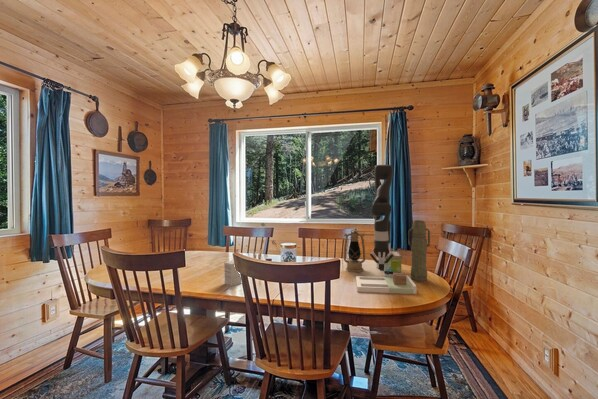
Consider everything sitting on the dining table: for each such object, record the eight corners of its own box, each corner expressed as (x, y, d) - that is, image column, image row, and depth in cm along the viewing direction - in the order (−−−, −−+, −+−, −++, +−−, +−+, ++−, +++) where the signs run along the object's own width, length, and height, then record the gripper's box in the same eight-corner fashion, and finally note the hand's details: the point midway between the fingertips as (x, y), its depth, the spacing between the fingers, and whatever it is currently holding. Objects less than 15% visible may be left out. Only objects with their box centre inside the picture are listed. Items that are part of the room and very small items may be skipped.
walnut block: (393, 281, 164) (393, 272, 164) (404, 282, 163) (404, 272, 163) (394, 284, 158) (394, 275, 158) (406, 285, 157) (406, 275, 157)
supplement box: (235, 281, 176) (235, 259, 175) (242, 283, 170) (242, 261, 170) (224, 283, 170) (223, 261, 170) (231, 286, 165) (230, 263, 165)
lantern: (344, 271, 195) (344, 226, 194) (343, 267, 207) (342, 224, 206) (366, 272, 194) (366, 226, 193) (364, 267, 206) (364, 224, 205)
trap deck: (355, 280, 175) (355, 273, 174) (408, 282, 170) (408, 275, 170) (357, 291, 155) (357, 283, 155) (416, 294, 150) (416, 286, 150)
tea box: (401, 280, 174) (401, 255, 173) (384, 279, 176) (384, 255, 175) (398, 274, 188) (398, 250, 188) (382, 273, 190) (382, 250, 190)
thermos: (406, 277, 181) (406, 220, 180) (427, 277, 179) (427, 220, 179) (410, 281, 172) (410, 221, 172) (431, 282, 170) (431, 221, 170)
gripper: (392, 238, 165) (392, 269, 165) (368, 237, 167) (368, 268, 167) (395, 240, 157) (395, 272, 158) (369, 240, 159) (369, 272, 160)
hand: (381, 270), depth 163 cm, fingers closed
